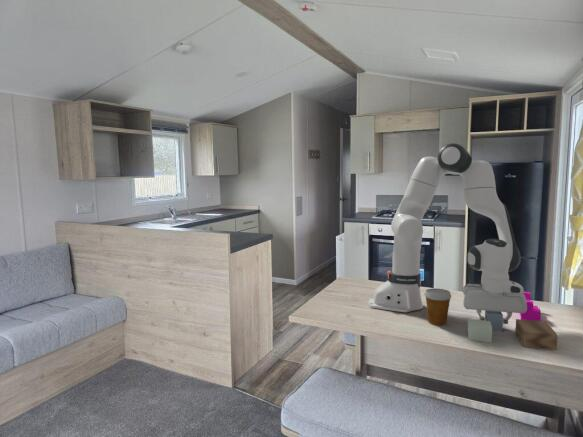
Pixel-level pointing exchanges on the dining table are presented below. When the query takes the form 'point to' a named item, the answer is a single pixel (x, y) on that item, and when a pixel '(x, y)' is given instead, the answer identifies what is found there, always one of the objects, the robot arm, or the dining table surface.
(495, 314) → the slate block
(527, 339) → the walnut pedestal
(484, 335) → the sage block
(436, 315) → the disposable coffee cup
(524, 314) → the toy block
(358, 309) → the dining table surface
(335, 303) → the dining table surface
